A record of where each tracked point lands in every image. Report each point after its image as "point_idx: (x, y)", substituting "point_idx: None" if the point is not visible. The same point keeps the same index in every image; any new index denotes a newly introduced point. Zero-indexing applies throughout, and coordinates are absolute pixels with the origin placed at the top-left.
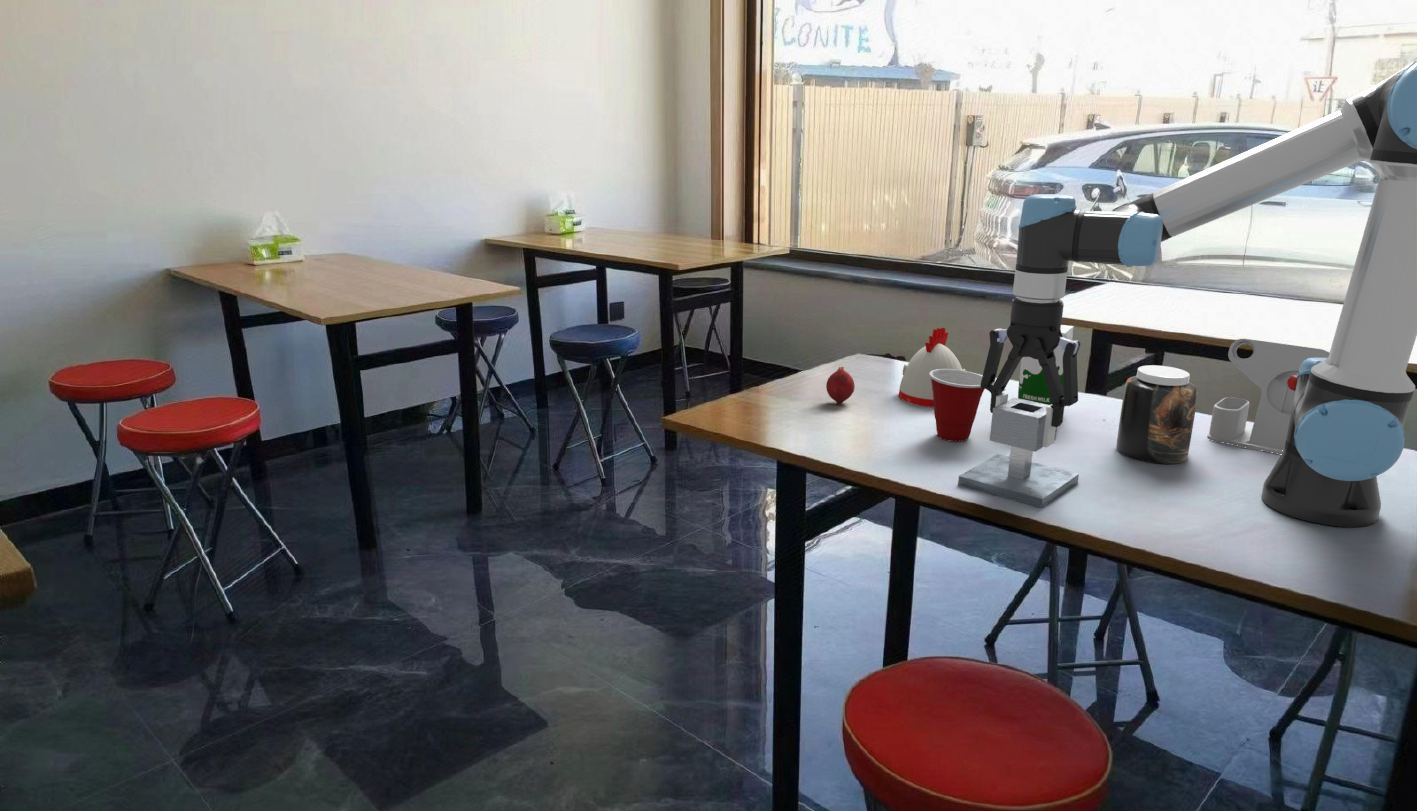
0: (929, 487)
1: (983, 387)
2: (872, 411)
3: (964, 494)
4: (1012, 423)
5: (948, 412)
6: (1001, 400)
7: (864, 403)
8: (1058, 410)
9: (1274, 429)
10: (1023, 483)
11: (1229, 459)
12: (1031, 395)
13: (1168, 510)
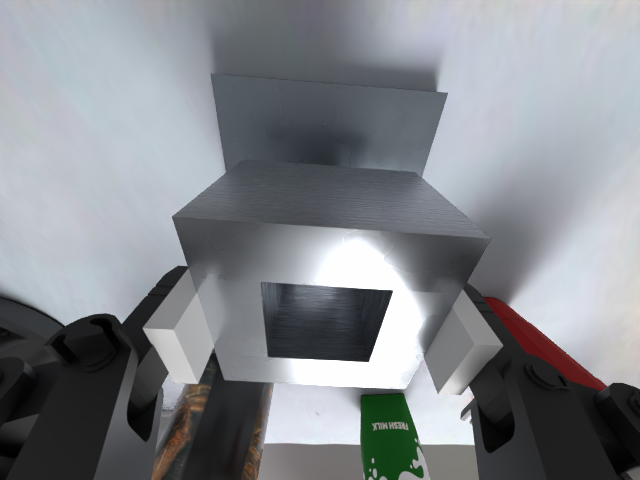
0: (512, 8)
1: (631, 394)
2: (618, 337)
3: (408, 27)
4: (342, 198)
5: (529, 339)
6: (456, 331)
7: (628, 355)
8: (128, 328)
9: (157, 441)
10: (294, 152)
11: (171, 389)
12: (397, 429)
13: (81, 228)
